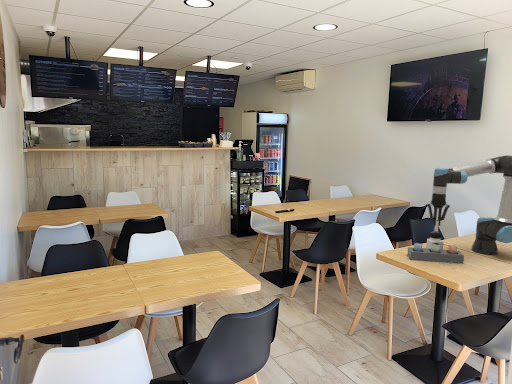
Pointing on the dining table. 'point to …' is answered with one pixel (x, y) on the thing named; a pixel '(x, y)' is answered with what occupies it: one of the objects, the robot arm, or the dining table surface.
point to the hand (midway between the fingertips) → (436, 230)
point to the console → (435, 256)
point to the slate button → (418, 247)
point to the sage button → (435, 248)
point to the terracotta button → (452, 249)
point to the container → (435, 240)
